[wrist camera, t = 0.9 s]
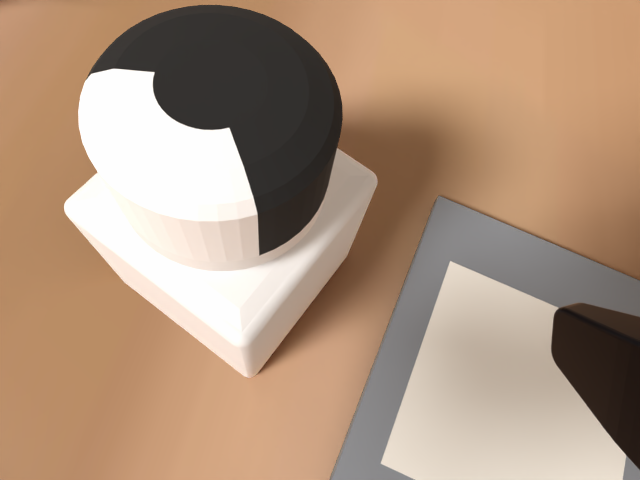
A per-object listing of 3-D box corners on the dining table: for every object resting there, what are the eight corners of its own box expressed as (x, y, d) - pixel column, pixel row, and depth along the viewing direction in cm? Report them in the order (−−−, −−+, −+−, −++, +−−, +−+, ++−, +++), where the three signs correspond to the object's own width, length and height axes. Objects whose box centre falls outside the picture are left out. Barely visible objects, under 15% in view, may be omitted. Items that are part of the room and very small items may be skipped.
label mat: (672, 301, 23) (683, 298, 23) (608, 786, 16) (622, 799, 16) (434, 201, 24) (439, 194, 23) (276, 619, 17) (276, 626, 16)
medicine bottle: (229, 167, 24) (196, -76, 13) (350, 253, 23) (429, 69, 12) (120, 279, 21) (-40, 97, 10) (251, 382, 20) (232, 304, 9)
